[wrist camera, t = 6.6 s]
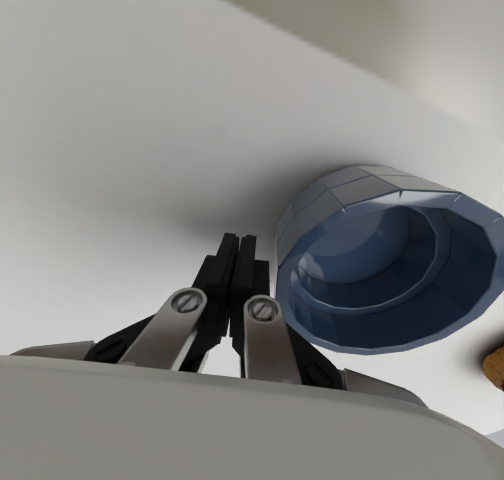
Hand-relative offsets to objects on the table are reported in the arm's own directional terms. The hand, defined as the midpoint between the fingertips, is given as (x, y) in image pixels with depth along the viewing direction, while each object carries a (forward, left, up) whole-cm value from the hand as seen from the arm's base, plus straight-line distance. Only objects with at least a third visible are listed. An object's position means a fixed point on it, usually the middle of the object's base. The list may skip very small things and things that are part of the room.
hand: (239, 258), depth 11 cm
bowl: (0, +7, -3) cm, 7 cm away
